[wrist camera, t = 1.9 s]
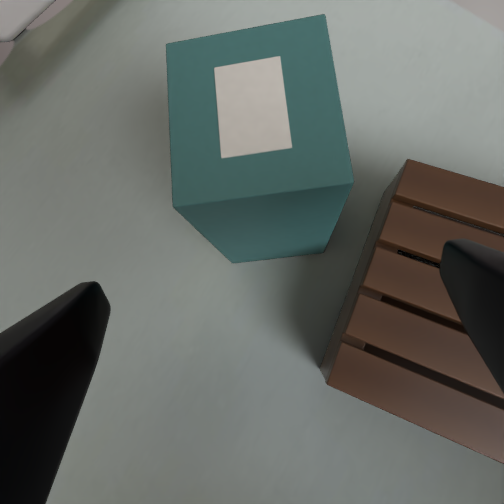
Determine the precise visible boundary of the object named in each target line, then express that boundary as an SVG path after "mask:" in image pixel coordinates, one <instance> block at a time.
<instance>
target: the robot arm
mask: <svg viewBox="0 0 504 504" xmlns="http://www.w3.org/2000/svg"><path fill="white" fill-rule="evenodd" d="M439 273H440V277H441V279H442V281H443V284H444V286H445V288H446V290H447V292H448V295H449V297H450V299H451V301H452V303H453V306H454V308H455V310H456V312H457V314H458V317H459V319H460V321H461V323H462V325H463V327H464V329H465V331H466V332H467V334H468V336H469V338H470V339H471V341H472V343H473V344H474V346H475V348H476V349H477V351H478V352H479V354H480V356H481V357H482V359H483V361H484V362H485V364H486V366H487V367H488V369H489V371H490V372H491V374H492V376H493V377H494V379H495V380H496V382H497V384H498V385H499V387H500V389H501V390H502V392H503V394H504V252H501V251H499V250H496V249H493V248H490V247H488V246H485V245H482V244H479V243H477V242H474V241H471V240H468V239H465V238H461V239H453V240H448V241H446V242H445V243H444V246H443V251H442V256H441V261H440V266H439ZM110 310H111V308H110V304H109V301H108V299H107V297H106V296H105V294H104V292H103V290H102V288H101V286H100V284H99V283H98V282H95V281H92V282H83V283H80V284H78V285H77V286H75V287H73V288H72V289H70V290H69V291H67V292H65V293H64V294H62V295H61V296H59V297H57V298H56V299H54V300H53V301H51V302H49V303H48V304H46V305H45V306H43V307H41V308H40V309H38V310H37V311H35V312H33V313H32V314H30V315H29V316H27V317H26V318H24V319H22V320H21V321H19V322H18V323H16V324H14V325H13V326H11V327H10V328H8V329H6V330H5V331H3V332H2V333H0V504H46V501H47V498H48V496H49V493H50V490H51V487H52V485H53V482H54V479H55V477H56V474H57V471H58V469H59V466H60V463H61V460H62V458H63V455H64V452H65V450H66V447H67V444H68V441H69V439H70V436H71V433H72V431H73V428H74V425H75V422H76V420H77V417H78V414H79V412H80V409H81V406H82V403H83V401H84V398H85V395H86V393H87V390H88V387H89V385H90V382H91V379H92V376H93V374H94V371H95V368H96V365H97V362H98V359H99V355H100V351H101V348H102V344H103V340H104V336H105V332H106V328H107V324H108V320H109V316H110Z"/></svg>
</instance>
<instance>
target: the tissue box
mask: <svg viewBox="0 0 504 504" xmlns="http://www.w3.org/2000/svg"><path fill="white" fill-rule="evenodd" d="M166 60H167V83H168V107H169V130H170V154H171V177H172V201H173V207H174V208H175V209H176V210H177V211H178V212H179V213H180V214H181V215H182V216H183V217H184V218H185V219H186V220H187V221H188V222H189V223H190V224H191V225H193V226H194V227H195V228H196V229H197V230H198V231H199V232H200V233H201V234H202V235H203V236H204V237H205V238H206V239H207V240H208V241H209V242H210V243H212V244H213V245H214V246H215V247H216V248H217V249H218V250H219V251H220V252H221V253H222V254H223V255H224V256H225V257H226V258H227V259H228V260H229V261H231V262H232V263H240V262H249V261H257V260H266V259H275V258H283V257H292V256H301V255H309V254H318V253H324V250H325V248H326V246H327V243H328V241H329V239H330V236H331V234H332V232H333V230H334V227H335V225H336V223H337V220H338V218H339V216H340V213H341V211H342V209H343V206H344V204H345V202H346V200H347V197H348V195H349V193H350V190H351V188H352V186H353V183H354V178H353V172H352V166H351V160H350V155H349V149H348V143H347V137H346V132H345V126H344V120H343V114H342V109H341V103H340V97H339V91H338V86H337V80H336V74H335V68H334V63H333V57H332V51H331V45H330V39H329V34H328V28H327V22H326V16H325V14H322V15H317V16H311V17H306V18H301V19H295V20H290V21H285V22H279V23H274V24H269V25H264V26H258V27H253V28H248V29H242V30H237V31H232V32H226V33H221V34H216V35H210V36H205V37H200V38H195V39H189V40H184V41H179V42H173V43H168V44H166Z"/></svg>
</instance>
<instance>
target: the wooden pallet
mask: <svg viewBox="0 0 504 504" xmlns="http://www.w3.org/2000/svg"><path fill="white" fill-rule="evenodd" d="M413 206H417V207H420V208H423V209H426V210H429V211H432V212H435V213H438V214H441V215H444V216H448V217H451V218H454V219H457V220H460V221H463V222H466V223H469V224H472V225H475V226H479V227H482V228H485V229H488V230H491V231H494V232H497V233H500V234H503V235H504V187H501V186H498V185H495V184H491V183H488V182H485V181H481V180H478V179H474V178H471V177H468V176H464V175H461V174H458V173H454V172H451V171H447V170H444V169H441V168H437V167H434V166H431V165H427V164H424V163H420V162H417V161H414V160H410V159H407V160H406V162H405V163H404V165H403V167H402V168H401V169H400V171H399V172H398V174H397V175H396V176H395V178H394V179H393V181H392V182H391V183H390V185H389V186H388V188H387V189H386V191H385V192H384V194H383V197H382V200H381V202H380V205H379V208H378V211H377V213H376V216H375V219H374V222H373V224H372V227H371V230H370V233H369V235H368V238H367V241H366V244H365V246H364V249H363V252H362V254H361V257H360V260H359V263H358V265H357V268H356V271H355V274H354V276H353V279H352V282H351V285H350V287H349V290H348V293H347V296H346V298H345V301H344V304H343V307H342V309H341V312H340V315H339V317H338V320H337V323H336V326H335V328H334V331H333V334H332V337H331V339H330V342H329V345H328V348H327V350H326V353H325V356H324V359H323V361H322V364H321V367H320V371H321V373H322V374H323V376H324V378H325V380H326V381H325V382H326V384H327V385H329V386H331V387H333V388H336V389H338V390H340V391H342V392H345V393H347V394H349V395H351V396H353V397H356V398H358V399H360V400H362V401H365V402H367V403H369V404H371V405H374V406H376V407H378V408H380V409H382V410H385V411H387V412H389V413H391V414H394V415H396V416H398V417H400V418H403V419H405V420H407V421H409V422H411V423H414V424H416V425H418V426H420V427H423V428H425V429H427V430H429V431H431V432H434V433H436V434H438V435H440V436H443V437H445V438H447V439H449V440H452V441H454V442H456V443H458V444H460V445H463V446H465V447H467V448H469V449H472V450H474V451H476V452H478V453H481V454H483V455H485V456H487V457H489V458H492V459H494V460H496V461H498V462H501V463H503V464H504V394H503V392H502V390H501V389H500V387H499V385H498V384H497V382H496V380H495V379H494V377H493V376H492V374H491V372H490V371H489V369H488V367H487V366H486V364H485V362H484V361H483V359H482V357H481V356H480V354H479V352H478V351H477V349H476V348H475V346H474V344H473V343H472V341H471V339H470V338H469V336H468V334H467V332H466V331H465V329H464V327H463V325H462V323H461V321H460V319H459V317H458V314H457V312H456V310H455V308H454V306H453V303H452V301H451V299H450V297H449V295H448V292H447V290H446V288H445V286H444V284H443V281H442V279H441V277H440V273H439V268H436V267H434V266H431V265H428V264H425V263H422V262H419V261H417V260H414V259H411V258H408V257H405V256H402V255H400V254H397V252H398V249H399V250H402V251H405V252H407V253H410V254H413V255H416V256H419V257H422V258H425V259H427V260H430V261H433V262H436V263H439V264H440V261H441V256H442V251H443V246H444V243H445V242H446V241H448V240H453V239H461V238H465V239H468V240H471V241H474V242H477V243H479V244H482V245H485V246H488V247H490V248H493V249H496V250H499V251H501V252H504V236H502V235H499V234H496V233H493V232H490V231H487V230H484V229H481V228H478V227H475V226H471V225H468V224H465V223H462V222H459V221H456V220H453V219H450V218H447V217H444V216H441V215H437V214H434V213H431V212H428V211H425V210H422V209H419V208H416V207H413Z"/></svg>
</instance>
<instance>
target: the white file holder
mask: <svg viewBox="0 0 504 504" xmlns="http://www.w3.org/2000/svg"><path fill="white" fill-rule="evenodd" d="M54 1H55V0H0V41H2V42H9V41H12V40H13V39H14V38H15V37H17V36H18V35H19V34H20V33H21V32H22V31H23V30H24V29H25V28H26V27H27V26H28V25H29V24H31V23H32V22H33V21H34V20H35V19H36V18H37V17H38V16H39V15H40V14H41V13H42V12H43V11H44V10H46V9H47V8H48V7H49V6H50V5H51V4H52V3H53V2H54Z"/></svg>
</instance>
